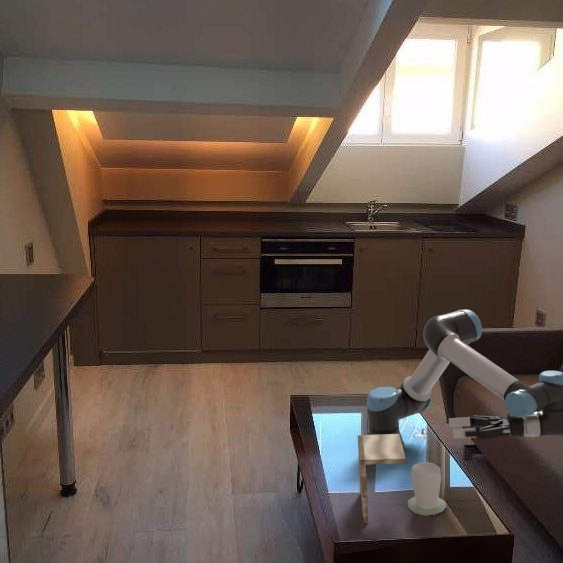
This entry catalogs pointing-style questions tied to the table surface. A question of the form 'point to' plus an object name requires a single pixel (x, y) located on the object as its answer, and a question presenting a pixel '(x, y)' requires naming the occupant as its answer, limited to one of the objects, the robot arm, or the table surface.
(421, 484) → the cup
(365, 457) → the shelf
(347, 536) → the table surface
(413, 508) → the mat
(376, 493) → the table surface
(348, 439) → the table surface
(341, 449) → the table surface
